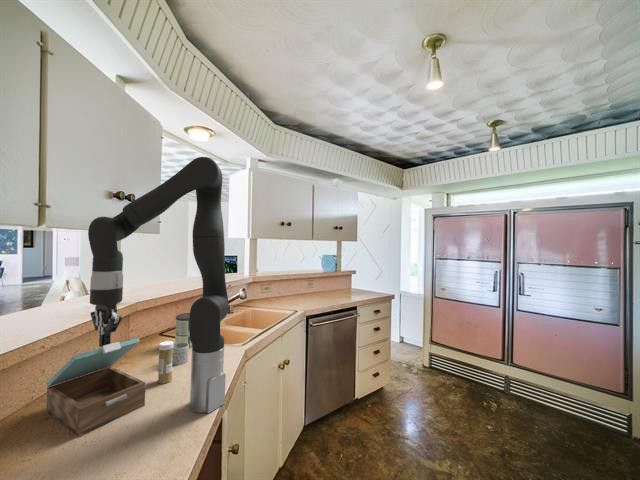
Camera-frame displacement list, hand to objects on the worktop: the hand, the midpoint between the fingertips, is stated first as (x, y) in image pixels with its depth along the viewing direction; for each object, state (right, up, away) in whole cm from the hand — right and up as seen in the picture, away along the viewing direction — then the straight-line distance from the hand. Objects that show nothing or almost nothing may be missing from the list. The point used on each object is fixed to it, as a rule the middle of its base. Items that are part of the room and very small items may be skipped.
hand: (104, 346), depth 81 cm
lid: (-4, -6, +2) cm, 7 cm away
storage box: (-3, -19, +1) cm, 19 cm away
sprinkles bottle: (+7, -19, +18) cm, 28 cm away
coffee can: (-1, -20, +53) cm, 56 cm away
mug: (+4, -20, +33) cm, 38 cm away
